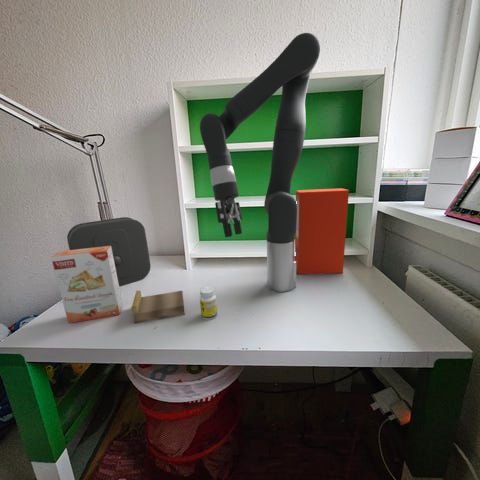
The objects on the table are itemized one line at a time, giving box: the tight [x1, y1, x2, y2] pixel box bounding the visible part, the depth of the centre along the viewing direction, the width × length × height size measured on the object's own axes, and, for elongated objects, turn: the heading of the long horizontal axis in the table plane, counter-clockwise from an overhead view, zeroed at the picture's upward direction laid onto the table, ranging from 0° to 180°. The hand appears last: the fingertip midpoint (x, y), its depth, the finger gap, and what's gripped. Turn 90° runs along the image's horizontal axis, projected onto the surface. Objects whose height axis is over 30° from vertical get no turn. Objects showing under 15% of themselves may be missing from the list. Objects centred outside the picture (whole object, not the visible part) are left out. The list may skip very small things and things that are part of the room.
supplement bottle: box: [199, 286, 218, 321], centre depth 72 cm, size 5×5×8 cm
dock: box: [131, 290, 186, 324], centre depth 76 cm, size 14×10×5 cm
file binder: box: [294, 188, 350, 275], centre depth 97 cm, size 8×17×32 cm, turn 88°
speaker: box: [66, 216, 152, 288], centre depth 94 cm, size 25×9×25 cm, turn 129°
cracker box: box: [50, 246, 123, 324], centre depth 74 cm, size 14×6×21 cm, turn 105°
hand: (234, 235), depth 77 cm, fingers open, 8 cm apart
